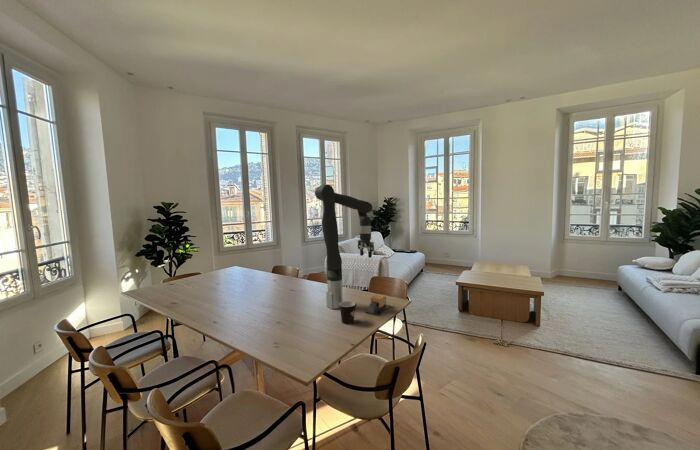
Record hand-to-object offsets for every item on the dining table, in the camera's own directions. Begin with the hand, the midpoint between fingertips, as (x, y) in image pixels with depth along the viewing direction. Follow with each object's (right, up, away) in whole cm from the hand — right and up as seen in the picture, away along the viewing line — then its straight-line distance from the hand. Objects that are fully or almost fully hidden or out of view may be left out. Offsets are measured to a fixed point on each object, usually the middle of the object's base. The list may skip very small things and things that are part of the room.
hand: (365, 256), depth 203 cm
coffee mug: (-10, -32, -36) cm, 49 cm away
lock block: (+6, -27, -21) cm, 34 cm away
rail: (+6, -30, -20) cm, 37 cm away
